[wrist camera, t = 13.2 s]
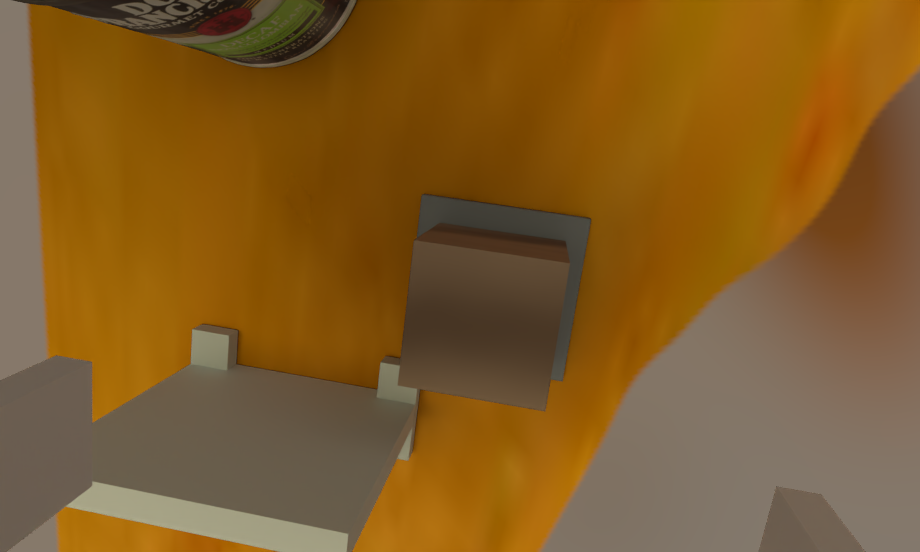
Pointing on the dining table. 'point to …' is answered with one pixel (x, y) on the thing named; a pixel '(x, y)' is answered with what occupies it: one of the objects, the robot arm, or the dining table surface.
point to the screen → (251, 451)
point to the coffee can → (225, 24)
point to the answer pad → (524, 224)
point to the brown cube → (483, 314)
